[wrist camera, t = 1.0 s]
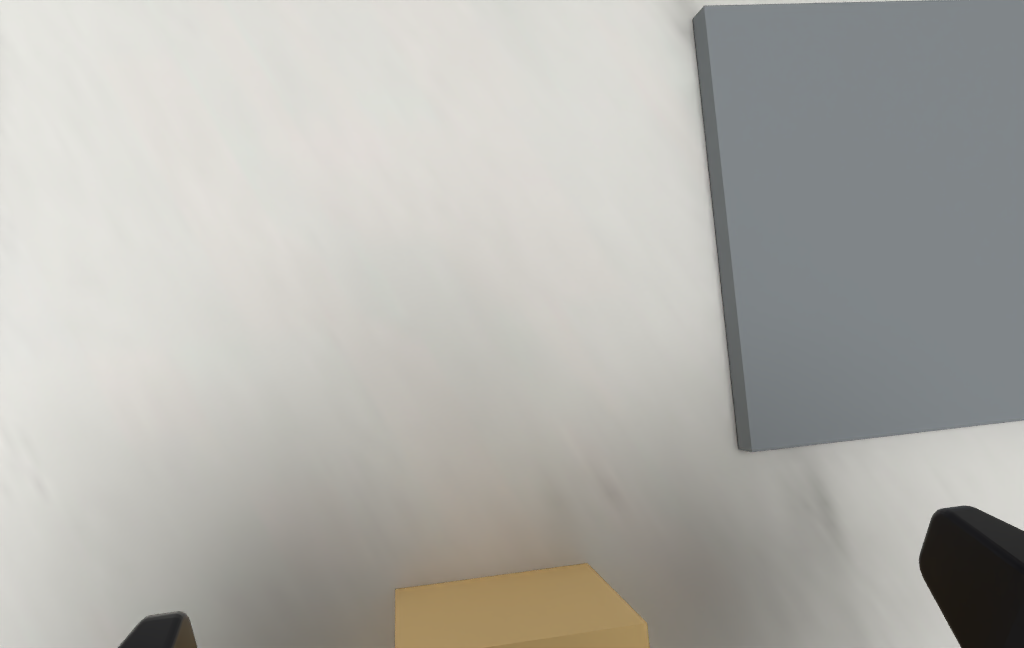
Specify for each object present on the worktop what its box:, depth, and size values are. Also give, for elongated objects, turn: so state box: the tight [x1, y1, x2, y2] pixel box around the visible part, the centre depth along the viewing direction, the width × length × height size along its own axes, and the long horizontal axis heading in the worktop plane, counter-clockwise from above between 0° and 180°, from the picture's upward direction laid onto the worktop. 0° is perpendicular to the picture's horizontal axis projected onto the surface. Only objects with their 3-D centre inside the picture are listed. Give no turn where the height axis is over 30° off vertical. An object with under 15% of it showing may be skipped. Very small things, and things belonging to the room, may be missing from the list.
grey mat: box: [693, 0, 1024, 452], centre depth 22 cm, size 12×12×1 cm
